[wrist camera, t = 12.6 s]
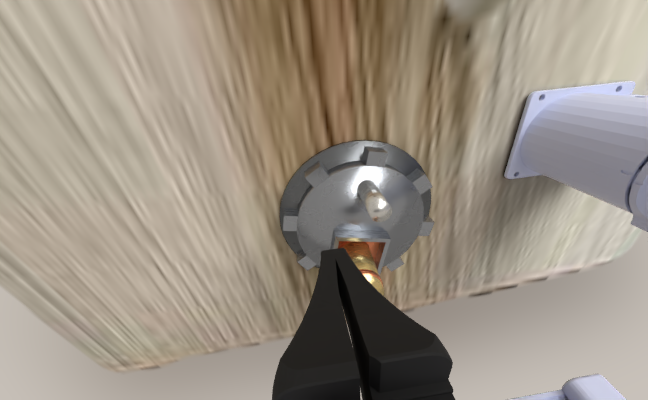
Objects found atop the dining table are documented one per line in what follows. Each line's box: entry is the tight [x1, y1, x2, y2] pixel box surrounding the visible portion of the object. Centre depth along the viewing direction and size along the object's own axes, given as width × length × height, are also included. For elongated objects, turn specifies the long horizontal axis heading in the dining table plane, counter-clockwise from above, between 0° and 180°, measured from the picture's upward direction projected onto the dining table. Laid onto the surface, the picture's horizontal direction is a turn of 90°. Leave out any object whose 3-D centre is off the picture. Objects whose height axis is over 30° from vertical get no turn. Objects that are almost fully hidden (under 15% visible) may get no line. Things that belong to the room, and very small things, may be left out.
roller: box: [342, 241, 384, 296], centre depth 22 cm, size 3×3×5 cm
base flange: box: [280, 140, 431, 268], centre depth 24 cm, size 15×15×1 cm
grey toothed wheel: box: [283, 146, 434, 276], centre depth 21 cm, size 14×14×6 cm
